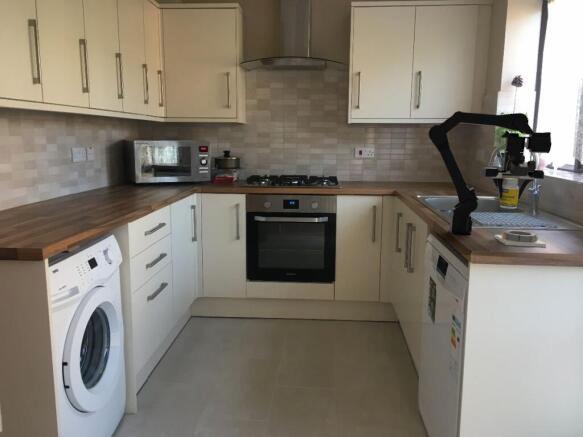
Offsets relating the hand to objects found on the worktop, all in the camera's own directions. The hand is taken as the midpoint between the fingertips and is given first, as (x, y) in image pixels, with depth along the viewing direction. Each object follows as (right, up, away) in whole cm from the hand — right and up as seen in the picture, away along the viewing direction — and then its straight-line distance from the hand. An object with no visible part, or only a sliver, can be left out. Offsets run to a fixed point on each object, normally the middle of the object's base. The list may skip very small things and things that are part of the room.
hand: (509, 198), depth 158 cm
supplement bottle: (0, -3, +1) cm, 3 cm away
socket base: (0, -14, -6) cm, 16 cm away
